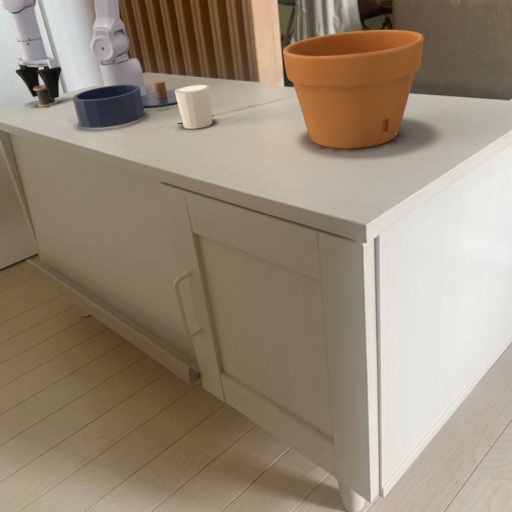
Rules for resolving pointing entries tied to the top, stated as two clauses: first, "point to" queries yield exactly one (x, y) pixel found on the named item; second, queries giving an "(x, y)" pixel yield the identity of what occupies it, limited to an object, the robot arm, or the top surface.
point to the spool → (43, 96)
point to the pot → (109, 106)
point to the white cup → (195, 105)
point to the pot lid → (159, 97)
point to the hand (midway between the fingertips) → (45, 96)
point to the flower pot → (354, 84)
